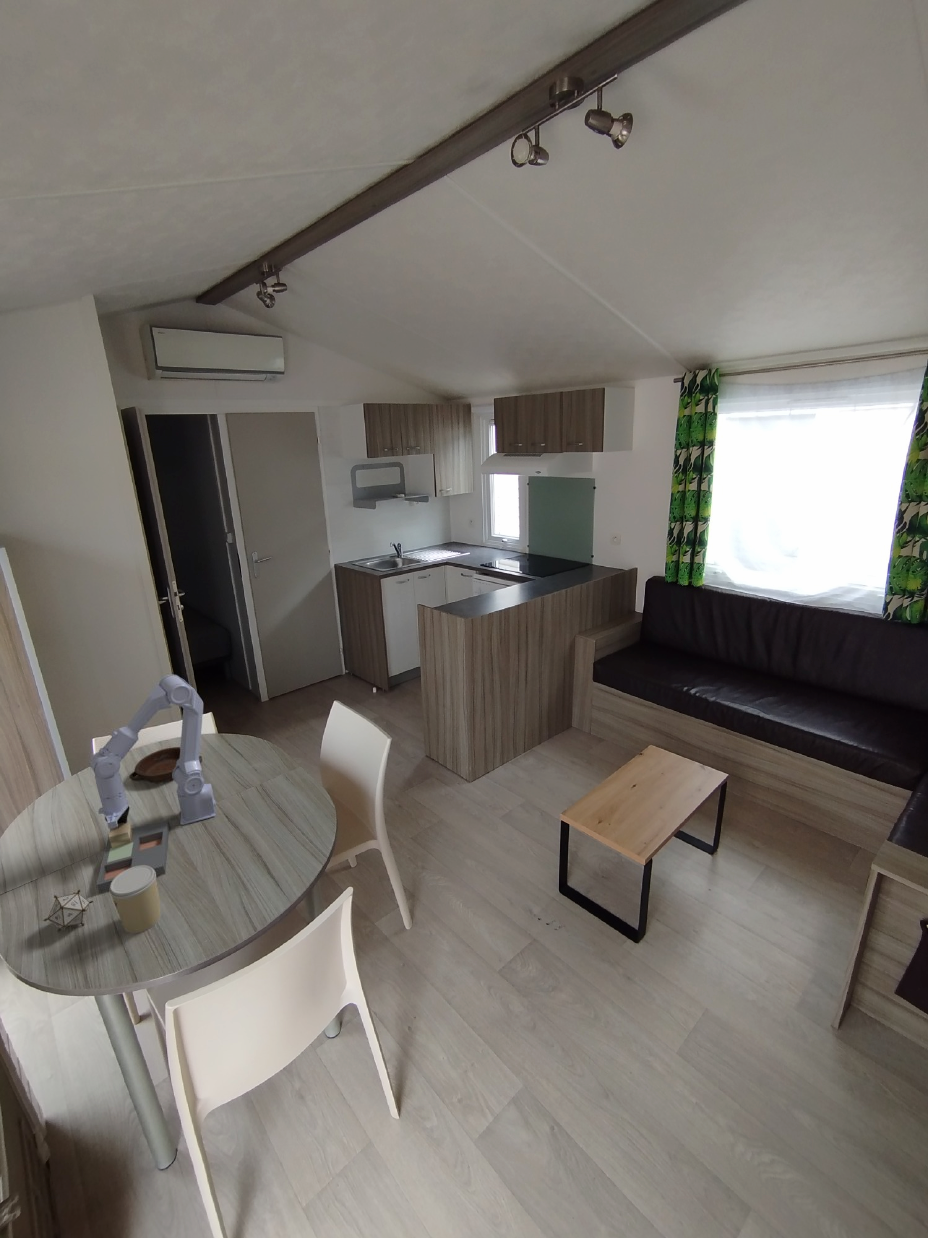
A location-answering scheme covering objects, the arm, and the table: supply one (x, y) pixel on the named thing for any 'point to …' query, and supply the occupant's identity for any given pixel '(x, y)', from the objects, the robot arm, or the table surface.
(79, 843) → the table surface
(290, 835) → the table surface
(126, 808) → the robot arm
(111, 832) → the maple block
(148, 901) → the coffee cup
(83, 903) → the game die
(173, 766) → the dish
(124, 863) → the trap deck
